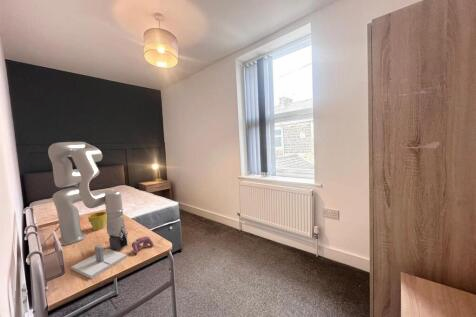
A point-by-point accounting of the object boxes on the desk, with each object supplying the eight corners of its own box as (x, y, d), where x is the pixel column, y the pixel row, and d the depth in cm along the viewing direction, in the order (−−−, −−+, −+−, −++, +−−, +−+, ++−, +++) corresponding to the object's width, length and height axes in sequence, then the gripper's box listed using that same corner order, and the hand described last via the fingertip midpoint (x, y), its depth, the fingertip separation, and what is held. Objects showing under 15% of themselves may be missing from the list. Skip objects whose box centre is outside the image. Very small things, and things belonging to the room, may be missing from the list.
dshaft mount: (72, 269, 92) (69, 252, 91) (107, 251, 106) (105, 235, 105) (91, 278, 84) (88, 260, 83) (126, 257, 99) (124, 241, 98)
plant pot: (101, 231, 130) (99, 217, 129) (86, 232, 130) (84, 217, 129) (111, 224, 140) (110, 211, 139) (97, 225, 140) (95, 211, 139)
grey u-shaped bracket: (117, 250, 105) (115, 239, 105) (110, 248, 108) (108, 237, 107) (127, 245, 111) (126, 234, 110) (120, 243, 113) (119, 232, 113)
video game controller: (151, 246, 111) (147, 234, 112) (154, 245, 108) (150, 233, 109) (133, 255, 103) (129, 242, 104) (136, 254, 100) (132, 241, 102)
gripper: (98, 214, 108) (102, 244, 110) (118, 218, 100) (122, 251, 102) (112, 209, 114) (115, 238, 116) (131, 213, 107) (135, 244, 109)
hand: (118, 244), depth 109 cm, fingers open, 8 cm apart
